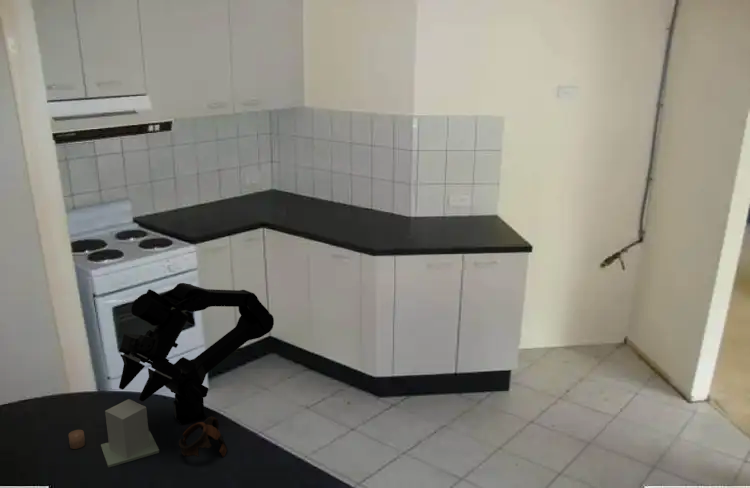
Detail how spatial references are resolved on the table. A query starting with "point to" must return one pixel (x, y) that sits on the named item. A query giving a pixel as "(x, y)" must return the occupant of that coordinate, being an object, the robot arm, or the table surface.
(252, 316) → the robot arm
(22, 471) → the table surface
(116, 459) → the sage mat
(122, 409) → the gray rectangular block
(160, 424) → the table surface
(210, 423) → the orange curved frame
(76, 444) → the brown round lump
